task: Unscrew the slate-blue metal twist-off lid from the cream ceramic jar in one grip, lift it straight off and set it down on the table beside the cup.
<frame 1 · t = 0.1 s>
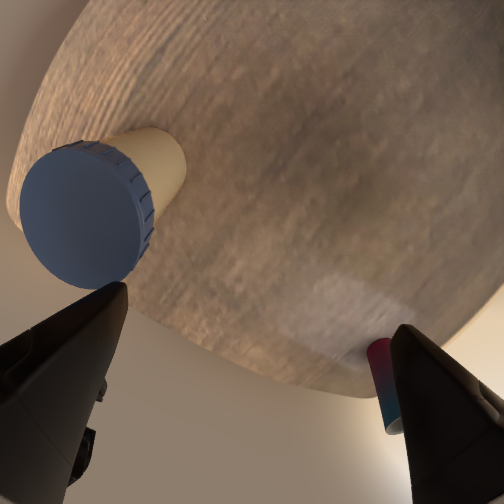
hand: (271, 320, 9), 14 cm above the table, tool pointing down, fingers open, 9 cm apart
cup: (380, 347, 30), on the table
lid: (76, 221, 12), point 10 cm above the table, screwed on, not yet turned
jar: (146, 167, 21), on the table
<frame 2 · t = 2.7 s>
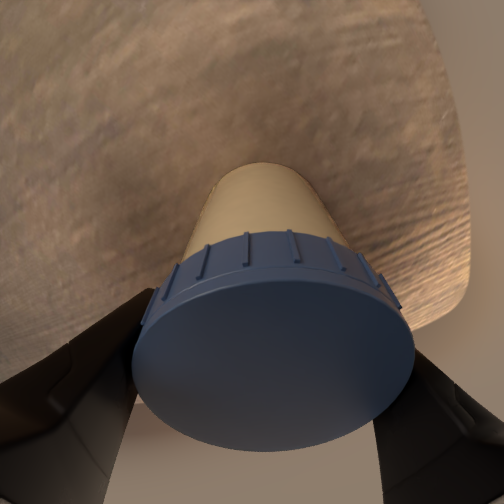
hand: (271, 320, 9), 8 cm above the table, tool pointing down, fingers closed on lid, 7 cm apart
lid: (275, 386, 7), point 10 cm above the table, screwed on, not yet turned, touching gripper
jar: (262, 220, 16), on the table
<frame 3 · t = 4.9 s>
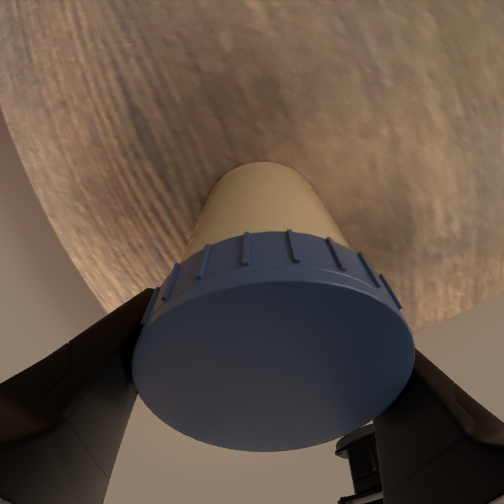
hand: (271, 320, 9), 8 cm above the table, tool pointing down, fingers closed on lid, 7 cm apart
lid: (275, 386, 7), point 10 cm above the table, off its thread, touching gripper
jar: (262, 218, 16), on the table
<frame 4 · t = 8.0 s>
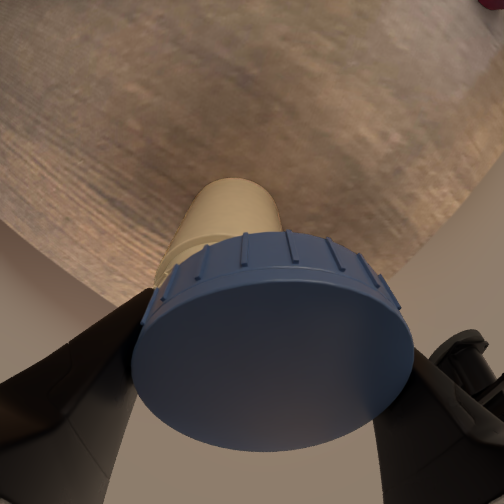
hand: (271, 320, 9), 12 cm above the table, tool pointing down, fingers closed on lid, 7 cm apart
lid: (274, 386, 7), point 14 cm above the table, off its thread, touching gripper
jar: (233, 221, 20), on the table
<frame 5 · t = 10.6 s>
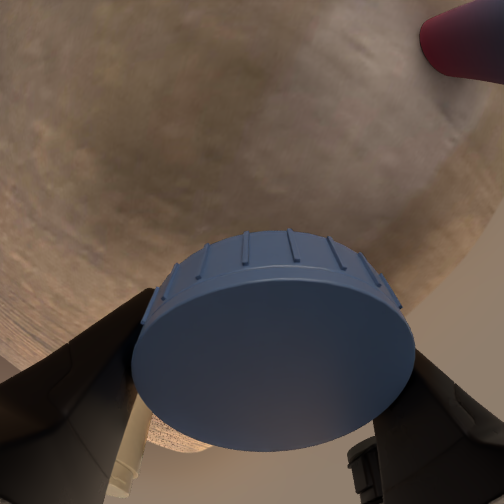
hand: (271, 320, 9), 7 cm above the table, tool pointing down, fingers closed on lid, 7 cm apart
cup: (443, 47, 10), on the table
lid: (275, 385, 7), point 9 cm above the table, off its thread, touching gripper
jar: (123, 365, 20), on the table
when the fingers open (0 cm above the table, at t = 13.2 s): lid stays where it is, point 1 cm above the table.
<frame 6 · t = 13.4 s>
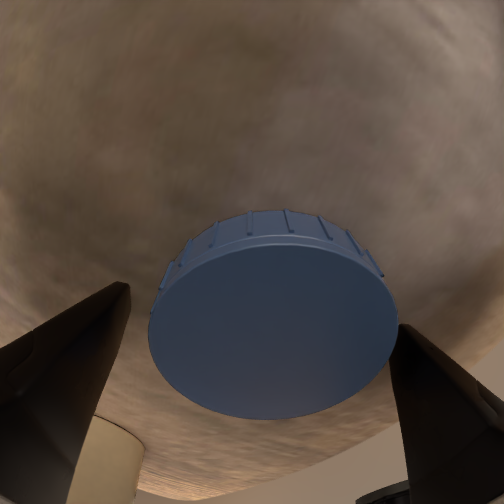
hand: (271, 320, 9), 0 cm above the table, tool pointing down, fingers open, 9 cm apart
lid: (275, 348, 8), point 1 cm above the table, off its thread
jar: (99, 435, 15), on the table
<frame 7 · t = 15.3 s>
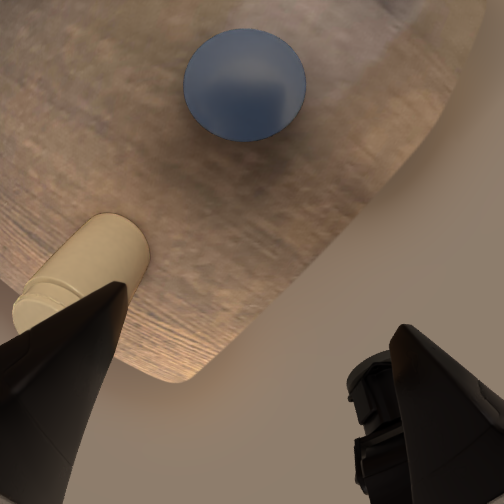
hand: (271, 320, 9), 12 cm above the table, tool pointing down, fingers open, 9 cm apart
lid: (244, 84, 15), point 1 cm above the table, off its thread
jar: (113, 249, 21), on the table
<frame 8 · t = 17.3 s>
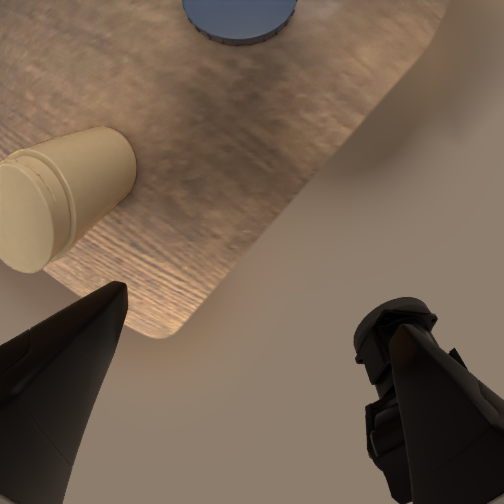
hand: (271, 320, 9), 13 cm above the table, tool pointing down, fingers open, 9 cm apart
jar: (99, 167, 19), on the table
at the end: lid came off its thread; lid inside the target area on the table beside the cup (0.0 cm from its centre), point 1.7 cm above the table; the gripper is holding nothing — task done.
